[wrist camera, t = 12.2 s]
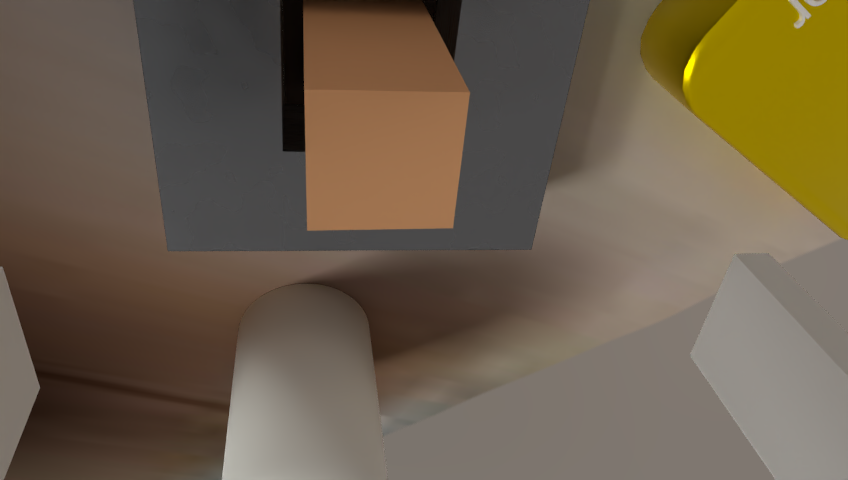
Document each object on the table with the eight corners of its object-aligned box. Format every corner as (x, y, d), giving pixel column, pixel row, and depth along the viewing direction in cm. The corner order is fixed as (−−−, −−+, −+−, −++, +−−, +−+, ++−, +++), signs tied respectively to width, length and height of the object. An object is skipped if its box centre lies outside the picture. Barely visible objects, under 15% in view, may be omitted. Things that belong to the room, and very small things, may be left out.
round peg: (241, 382, 35) (223, 569, 27) (234, 284, 31) (211, 467, 23) (365, 377, 36) (385, 555, 28) (372, 282, 32) (397, 455, 24)
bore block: (183, 195, 28) (167, 251, 25) (136, -207, 20) (105, -202, 17) (506, 198, 31) (531, 249, 27) (577, -158, 23) (623, -146, 19)
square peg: (305, 86, 26) (307, 230, 18) (302, -20, 24) (303, 89, 16) (406, 88, 27) (452, 228, 19) (414, -16, 25) (470, 92, 16)
